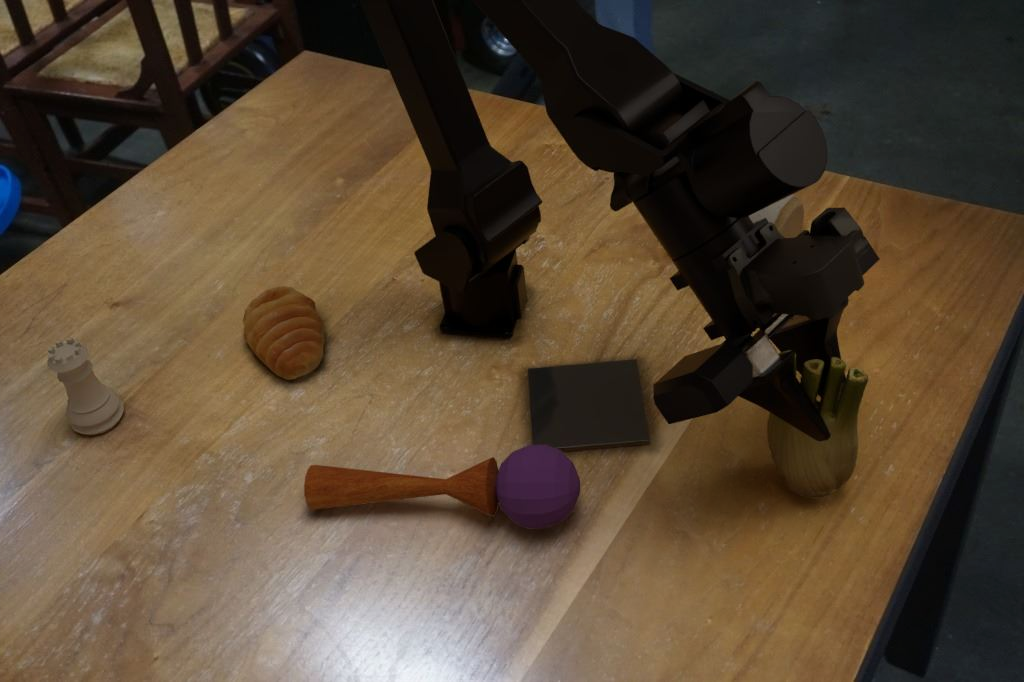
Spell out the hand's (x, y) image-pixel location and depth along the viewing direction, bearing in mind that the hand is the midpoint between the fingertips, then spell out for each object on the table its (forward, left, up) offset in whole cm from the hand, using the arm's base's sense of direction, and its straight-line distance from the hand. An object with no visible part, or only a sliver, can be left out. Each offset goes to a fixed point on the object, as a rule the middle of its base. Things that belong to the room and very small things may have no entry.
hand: (836, 427), depth 74 cm
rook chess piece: (-59, -1, -7) cm, 59 cm away
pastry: (-46, +10, -7) cm, 47 cm away
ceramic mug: (-8, +28, -7) cm, 30 cm away
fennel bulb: (-1, +1, -7) cm, 7 cm away
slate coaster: (-19, +6, -7) cm, 21 cm away
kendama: (-27, -5, -7) cm, 28 cm away
